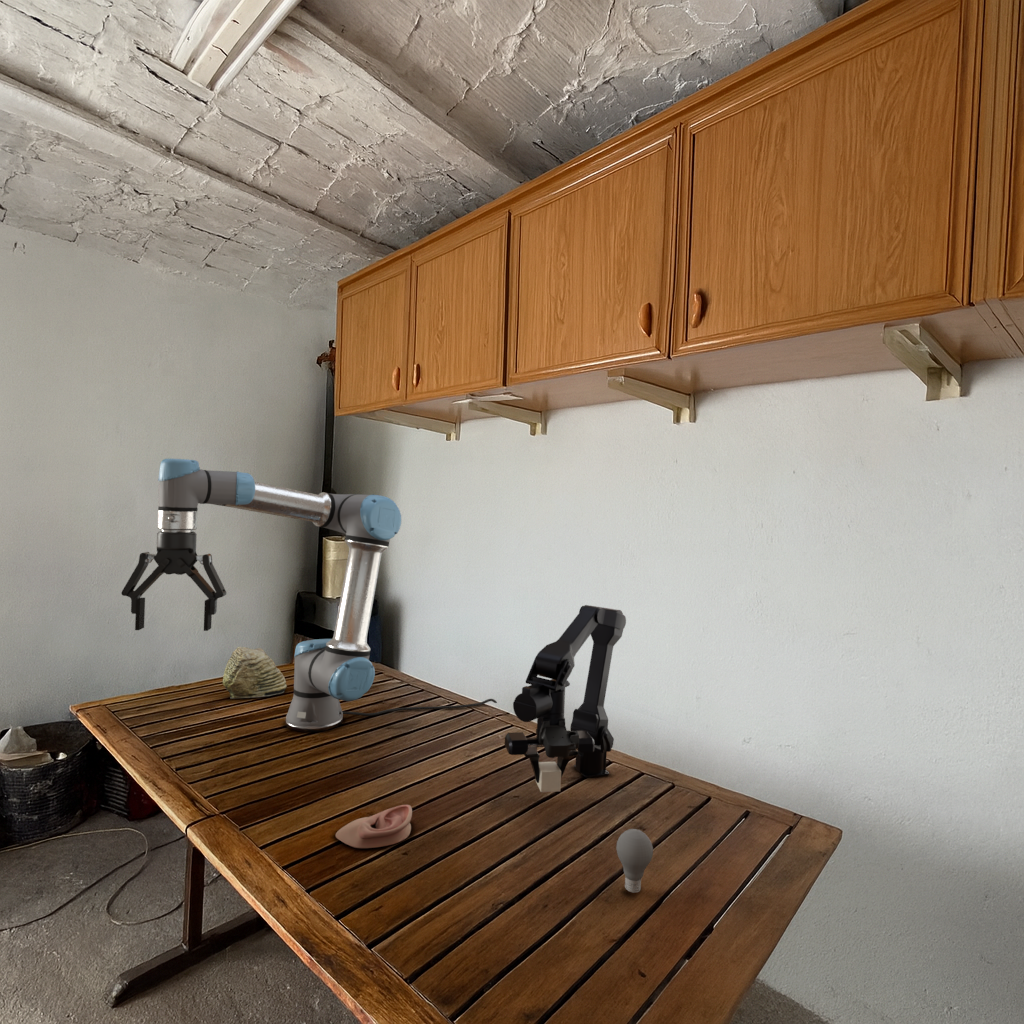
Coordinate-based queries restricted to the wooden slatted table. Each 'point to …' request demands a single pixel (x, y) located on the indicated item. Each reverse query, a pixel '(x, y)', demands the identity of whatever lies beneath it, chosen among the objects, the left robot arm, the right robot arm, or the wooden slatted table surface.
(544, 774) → the block
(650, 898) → the wooden slatted table surface
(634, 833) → the light bulb
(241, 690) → the fossil
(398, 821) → the anatomical model
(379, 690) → the wooden slatted table surface
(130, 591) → the left robot arm
